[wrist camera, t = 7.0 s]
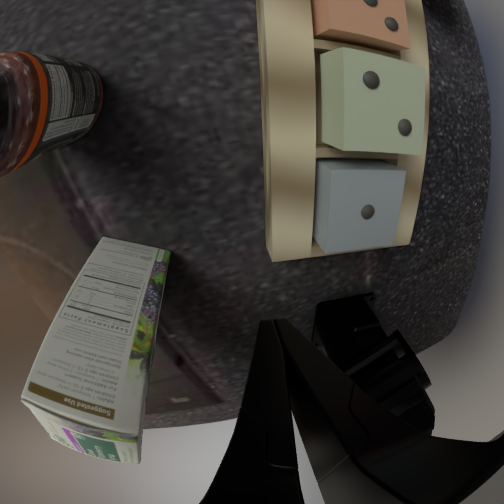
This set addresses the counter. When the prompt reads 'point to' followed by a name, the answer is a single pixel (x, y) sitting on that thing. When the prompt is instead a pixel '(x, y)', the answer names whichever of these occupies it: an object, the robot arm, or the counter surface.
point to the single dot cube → (356, 203)
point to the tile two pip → (372, 102)
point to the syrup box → (101, 353)
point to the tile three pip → (362, 23)
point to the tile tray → (316, 125)
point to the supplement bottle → (43, 105)
